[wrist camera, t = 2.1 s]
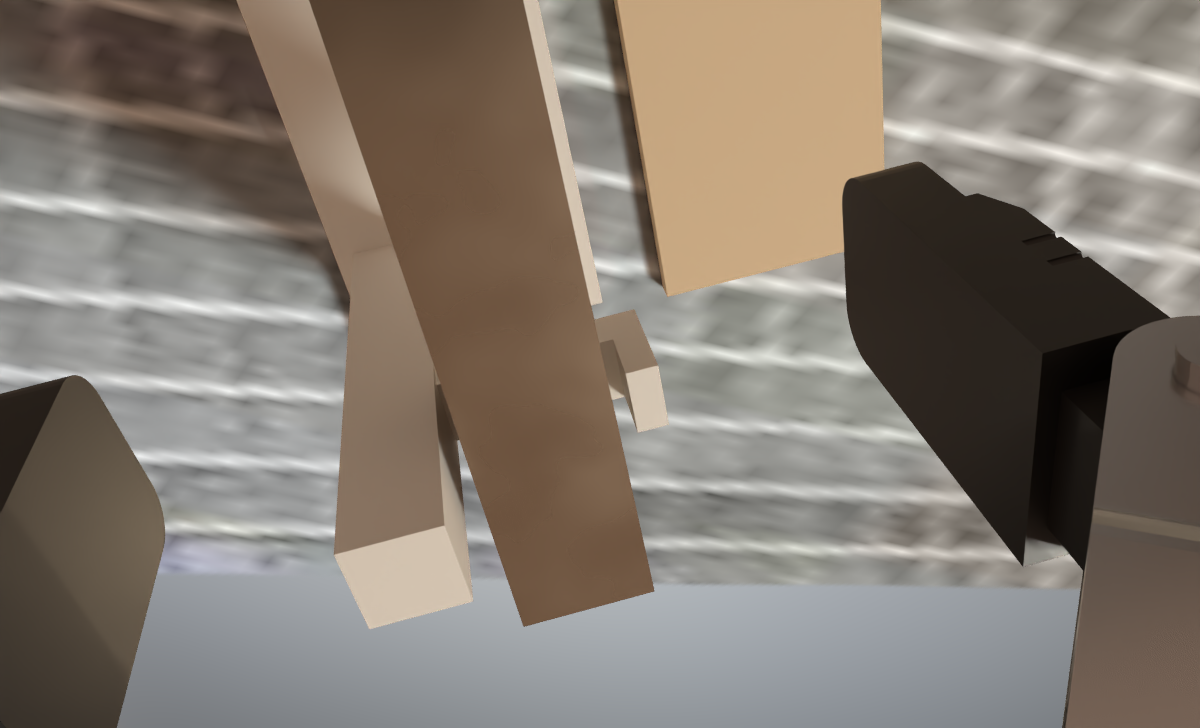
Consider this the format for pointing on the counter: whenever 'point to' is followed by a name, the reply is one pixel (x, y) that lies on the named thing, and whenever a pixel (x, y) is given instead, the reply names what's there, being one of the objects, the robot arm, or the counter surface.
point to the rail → (495, 283)
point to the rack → (405, 341)
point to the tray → (751, 127)
